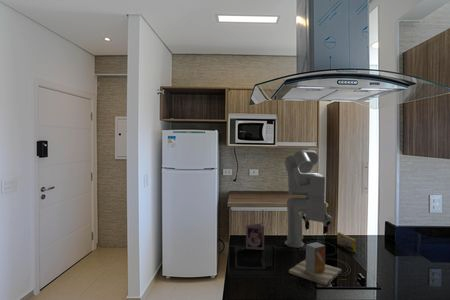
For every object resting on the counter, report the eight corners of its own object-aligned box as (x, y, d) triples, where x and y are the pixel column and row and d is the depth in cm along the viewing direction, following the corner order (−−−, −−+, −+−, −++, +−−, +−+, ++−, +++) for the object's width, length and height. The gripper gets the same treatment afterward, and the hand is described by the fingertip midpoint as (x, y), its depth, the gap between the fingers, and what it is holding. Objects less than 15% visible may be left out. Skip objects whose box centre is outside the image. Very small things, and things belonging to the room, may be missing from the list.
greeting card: (245, 249, 183) (246, 225, 182) (246, 245, 190) (246, 222, 190) (264, 250, 181) (264, 226, 181) (263, 246, 188) (264, 223, 188)
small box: (314, 273, 146) (315, 248, 146) (305, 268, 151) (305, 244, 151) (325, 270, 150) (325, 245, 150) (315, 265, 156) (316, 241, 155)
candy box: (336, 244, 194) (337, 232, 194) (339, 244, 195) (339, 232, 195) (353, 253, 179) (353, 240, 179) (356, 253, 179) (356, 239, 179)
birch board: (305, 261, 165) (305, 258, 165) (341, 272, 152) (341, 269, 152) (288, 272, 150) (288, 270, 150) (326, 285, 136) (326, 282, 136)
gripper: (298, 197, 153) (297, 229, 153) (330, 202, 141) (329, 236, 142) (304, 195, 158) (303, 226, 159) (336, 200, 147) (335, 233, 147)
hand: (316, 231), depth 150 cm, fingers open, 9 cm apart
